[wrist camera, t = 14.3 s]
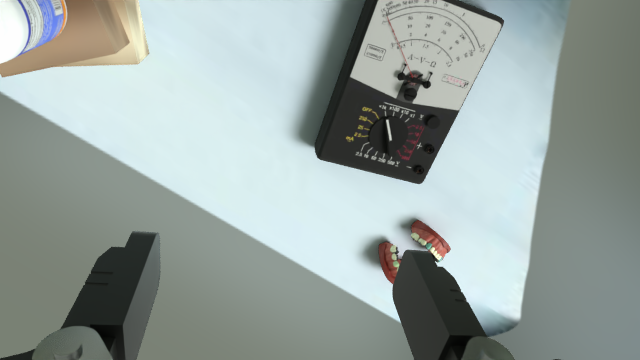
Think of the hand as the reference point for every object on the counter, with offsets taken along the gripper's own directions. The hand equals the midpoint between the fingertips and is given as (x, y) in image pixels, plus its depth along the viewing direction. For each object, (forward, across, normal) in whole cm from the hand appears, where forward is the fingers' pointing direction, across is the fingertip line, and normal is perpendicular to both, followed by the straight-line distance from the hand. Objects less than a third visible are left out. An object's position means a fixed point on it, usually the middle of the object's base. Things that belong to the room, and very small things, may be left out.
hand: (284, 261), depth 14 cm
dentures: (+32, -22, +24) cm, 46 cm away
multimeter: (+33, -14, +2) cm, 36 cm away
